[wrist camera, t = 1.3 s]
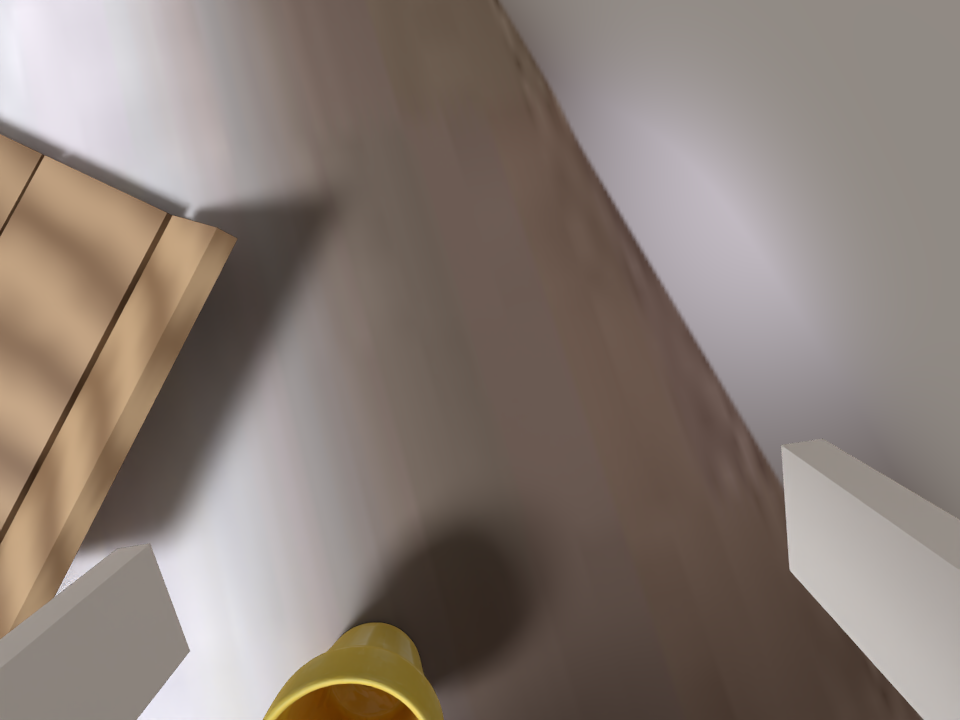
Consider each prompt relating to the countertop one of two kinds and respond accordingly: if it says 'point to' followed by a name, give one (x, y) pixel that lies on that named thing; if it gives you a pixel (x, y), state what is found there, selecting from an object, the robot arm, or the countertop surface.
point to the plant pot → (360, 681)
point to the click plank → (107, 416)
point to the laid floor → (57, 298)
